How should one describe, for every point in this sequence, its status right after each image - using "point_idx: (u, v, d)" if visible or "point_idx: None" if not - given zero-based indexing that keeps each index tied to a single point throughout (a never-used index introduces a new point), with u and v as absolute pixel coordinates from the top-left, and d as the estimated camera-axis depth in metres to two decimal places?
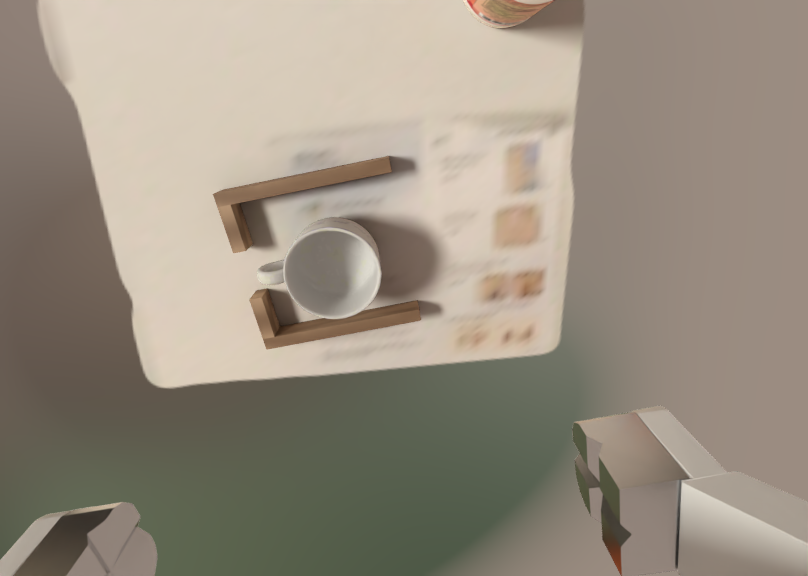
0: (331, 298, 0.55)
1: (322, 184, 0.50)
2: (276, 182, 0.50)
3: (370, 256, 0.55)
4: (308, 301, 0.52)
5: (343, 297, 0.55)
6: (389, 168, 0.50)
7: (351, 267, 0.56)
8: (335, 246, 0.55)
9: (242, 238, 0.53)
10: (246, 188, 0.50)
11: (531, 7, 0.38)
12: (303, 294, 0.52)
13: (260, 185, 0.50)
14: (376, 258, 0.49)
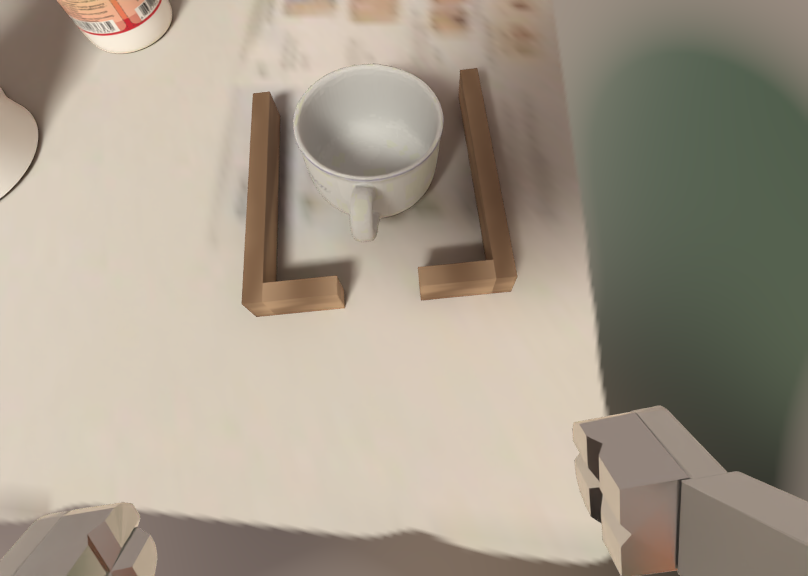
0: None
1: (264, 164, 0.37)
2: (247, 217, 0.36)
3: (381, 133, 0.40)
4: None
5: None
6: (264, 93, 0.40)
7: (396, 160, 0.39)
8: (361, 175, 0.39)
9: None
10: (245, 256, 0.34)
11: None
12: None
13: (246, 238, 0.35)
14: (352, 66, 0.34)
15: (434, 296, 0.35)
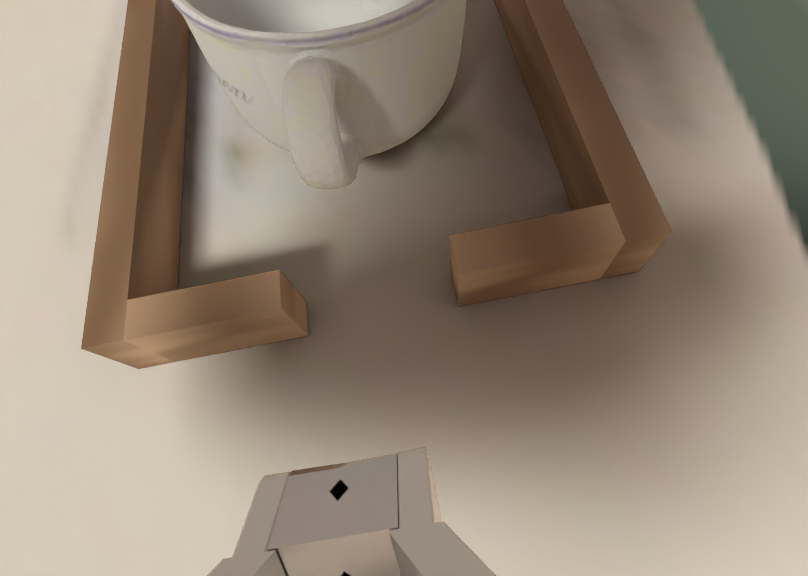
0: None
1: (144, 83, 0.20)
2: (107, 176, 0.18)
3: (356, 22, 0.23)
4: None
5: None
6: None
7: None
8: None
9: None
10: (97, 250, 0.17)
11: None
12: None
13: (102, 215, 0.18)
14: None
15: (486, 296, 0.17)
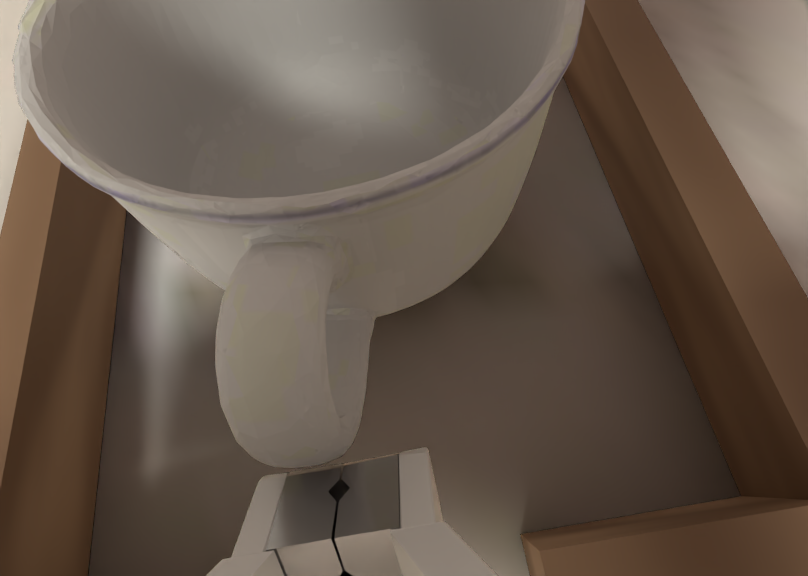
0: None
1: (47, 208, 0.13)
2: None
3: (364, 87, 0.16)
4: None
5: None
6: None
7: (406, 149, 0.15)
8: None
9: None
10: None
11: None
12: None
13: None
14: None
15: None
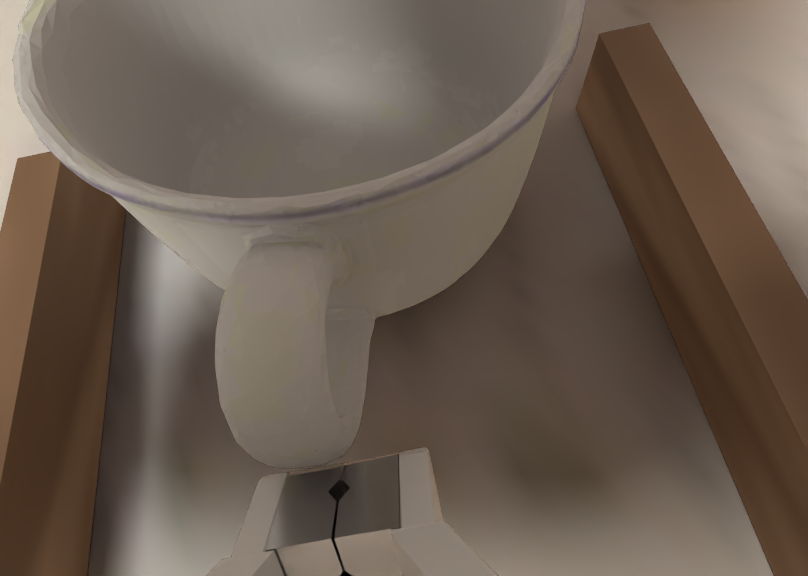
0: None
1: (9, 397, 0.11)
2: None
3: (364, 87, 0.16)
4: None
5: None
6: (48, 155, 0.14)
7: (406, 150, 0.15)
8: None
9: None
10: None
11: None
12: None
13: None
14: None
15: None
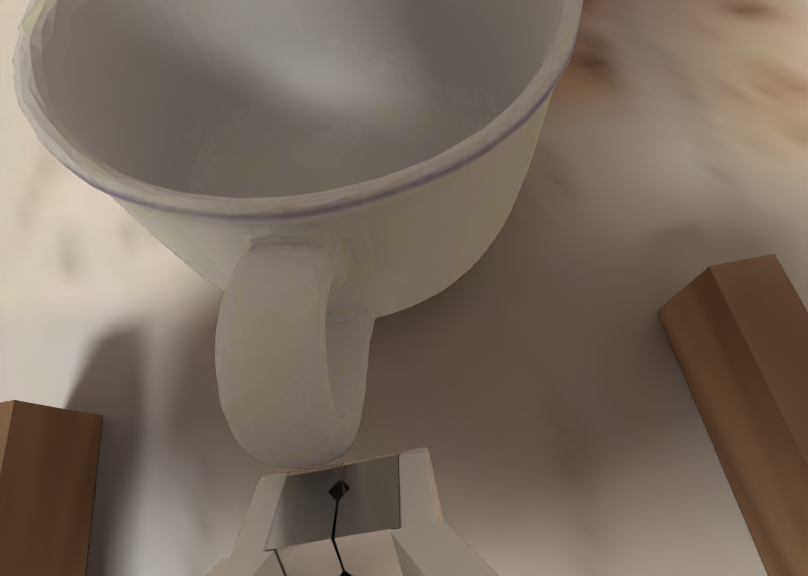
0: None
1: None
2: None
3: (363, 89, 0.16)
4: None
5: None
6: None
7: (405, 151, 0.15)
8: None
9: None
10: None
11: None
12: None
13: None
14: None
15: None
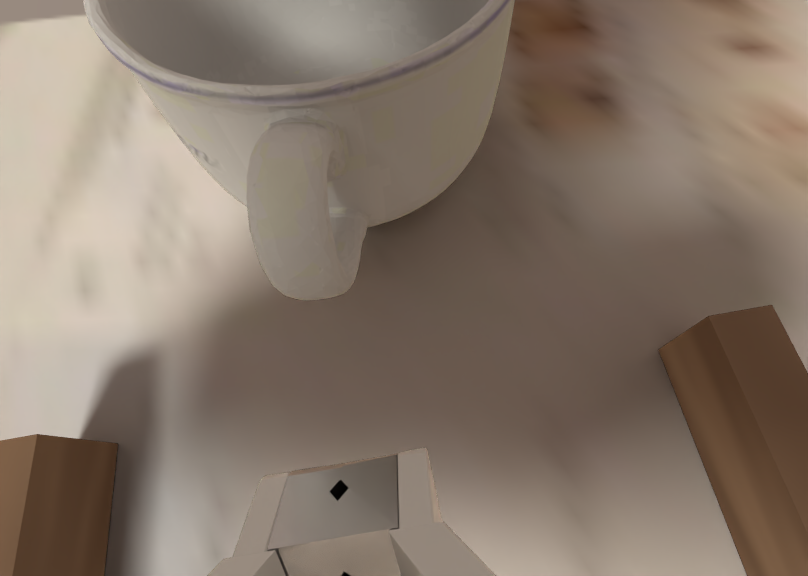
0: None
1: None
2: None
3: (359, 45, 0.18)
4: None
5: None
6: (19, 443, 0.12)
7: None
8: None
9: None
10: None
11: None
12: None
13: None
14: None
15: None
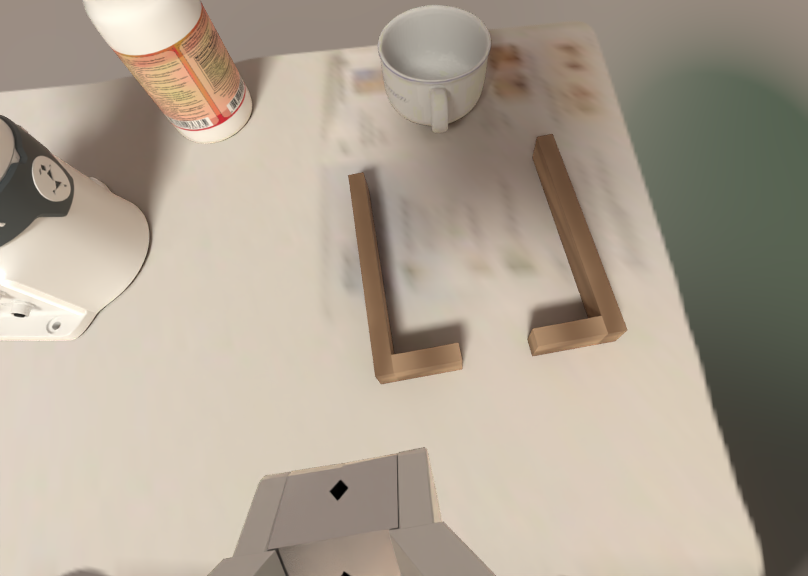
0: None
1: (372, 241, 0.41)
2: (365, 293, 0.39)
3: (435, 66, 0.51)
4: None
5: None
6: (359, 174, 0.44)
7: None
8: None
9: None
10: (370, 331, 0.37)
11: (207, 26, 0.43)
12: None
13: (368, 313, 0.38)
14: (415, 8, 0.45)
15: (545, 352, 0.38)
